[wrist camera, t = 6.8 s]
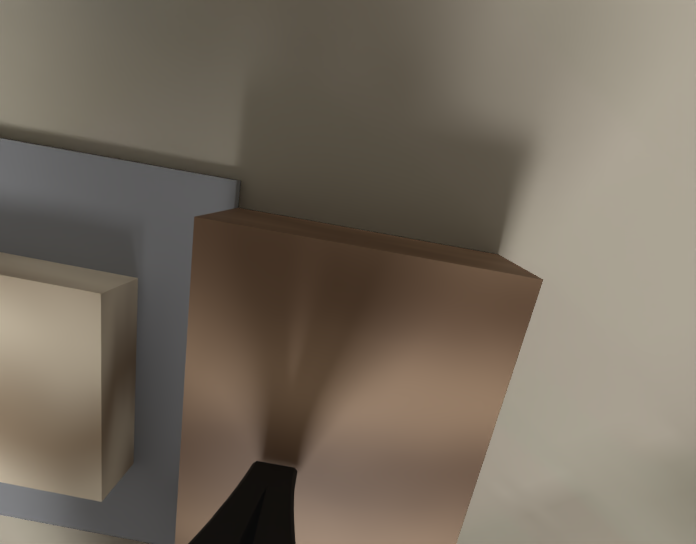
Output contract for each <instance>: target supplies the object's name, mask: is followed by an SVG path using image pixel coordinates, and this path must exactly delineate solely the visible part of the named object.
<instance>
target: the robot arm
mask: <svg viewBox="0 0 696 544" xmlns="http://www.w3.org/2000/svg"><path fill="white" fill-rule="evenodd" d="M296 478H297V470H296V469H295V468H294V467H289V466H283V465H277V464H272V463H266V462H261V461H256V462H254V463H253V464H252V465H251V467H250V468H249V470H248V471H247V473H246V474H245V476H244V477H243V479H242V480H241V481H240V483H239V484H238V485H237V487H236V488H235V489H234V491H233V492H232V493H231V495H230V496H229V497H228V498H227V500H226V501H225V502H224V503H223V505H222V506H221V507H220V508H219V509H218V511H217V512H216V513H215V514H214V515H213V517H212V518H211V519H210V520H209V521H208V522H207V524H206V525H205V526H204V527H203V528H202V529H201V530H200V531H199V532H198V534H197V535H196V536H195V537H194V538H193V539H192V540H191V541H190V542H189V543H188V544H296V542H295V525H294V491H295V484H296Z"/></svg>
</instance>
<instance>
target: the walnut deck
mask: <svg viewBox="0 0 696 544" xmlns="http://www.w3.org/2000/svg"><path fill="white" fill-rule="evenodd" d="M542 282H543V279H541V278H539V277H537V276H536V275H534V274H532V273H530V272H528V271H527V270H525V269H523V268H521V267H520V266H518V265H516V264H514V263H513V262H511V261H509V260H507V259H505V258H504V257H502V256H500V255H498V254H493V253H487V252H481V251H476V250H470V249H465V248H459V247H454V246H448V245H443V244H437V243H431V242H426V241H420V240H415V239H409V238H404V237H398V236H393V235H387V234H382V233H376V232H370V231H365V230H359V229H354V228H348V227H343V226H337V225H332V224H326V223H321V222H315V221H309V220H304V219H298V218H293V217H287V216H282V215H276V214H271V213H265V212H259V211H254V210H248V209H243V208H234V209H229V210H224V211H219V212H215V213H210V214H205V215H200V216H195V217H194V228H193V245H192V262H191V278H190V295H189V312H188V329H187V346H186V363H185V380H184V397H183V414H182V431H181V448H180V464H179V481H178V498H177V515H176V532H175V544H188V543H189V542H190V541H191V540H192V539H193V538H194V537H195V536H196V535H197V534H198V532H199V531H200V530H201V529H202V528H203V527H204V526H205V525H206V524H207V522H208V521H209V520H210V519H211V518H212V517H213V515H214V514H215V513H216V512H217V511H218V509H219V508H220V507H221V506H222V505H223V503H224V502H225V501H226V500H227V498H228V497H229V496H230V495H231V493H232V492H233V491H234V489H235V488H236V487H237V485H238V484H239V483H240V481H241V480H242V479H243V477H244V476H245V474H246V473H247V471H248V470H249V468H250V467H251V465H252V464H253V463H254V462H256V461H261V462H266V463H272V464H277V465H283V466H289V467H294V468H295V469H296V470H297V478H296V484H295V491H294V525H295V542H296V544H456V543H457V540H458V537H459V534H460V531H461V528H462V525H463V522H464V518H465V515H466V512H467V509H468V506H469V503H470V500H471V497H472V494H473V491H474V488H475V485H476V482H477V479H478V476H479V473H480V470H481V467H482V464H483V461H484V458H485V455H486V452H487V449H488V446H489V443H490V440H491V436H492V433H493V430H494V427H495V424H496V421H497V418H498V415H499V412H500V409H501V406H502V403H503V400H504V397H505V394H506V391H507V388H508V385H509V382H510V379H511V376H512V373H513V370H514V367H515V364H516V361H517V358H518V355H519V351H520V348H521V345H522V342H523V339H524V336H525V333H526V330H527V327H528V324H529V321H530V318H531V315H532V312H533V309H534V306H535V303H536V300H537V297H538V294H539V291H540V288H541V285H542Z"/></svg>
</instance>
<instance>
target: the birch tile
mask: <svg viewBox="0 0 696 544" xmlns="http://www.w3.org/2000/svg"><path fill="white" fill-rule="evenodd" d="M137 300H138V278H135V277H130V276H125V275H119V274H114V273H109V272H103V271H98V270H93V269H87V268H82V267H77V266H71V265H66V264H61V263H55V262H50V261H45V260H40V259H34V258H29V257H24V256H18V255H13V254H8V253H2V252H0V482H2V483H7V484H12V485H17V486H22V487H28V488H33V489H38V490H43V491H48V492H53V493H59V494H64V495H69V496H74V497H79V498H84V499H90V500H95V501H100V502H102V501H103V500H104V498H105V497H106V496H107V495H108V494H109V492H110V491H111V490H112V489H113V488H114V486H115V485H116V484H117V483H118V482H119V480H120V479H121V478H122V477H123V476H124V474H125V473H126V472H127V471H128V469H129V468H130V467H131V466H132V465H133V461H134V421H135V381H136V340H137Z"/></svg>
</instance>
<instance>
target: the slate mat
mask: <svg viewBox="0 0 696 544" xmlns="http://www.w3.org/2000/svg"><path fill="white" fill-rule="evenodd" d="M239 192H240V181H239V180H233V179H228V178H222V177H216V176H211V175H205V174H200V173H194V172H189V171H183V170H177V169H172V168H166V167H161V166H155V165H150V164H144V163H138V162H133V161H127V160H122V159H116V158H111V157H105V156H99V155H94V154H88V153H83V152H77V151H72V150H66V149H60V148H55V147H49V146H44V145H38V144H33V143H27V142H21V141H16V140H10V139H5V138H0V252H2V253H8V254H13V255H18V256H24V257H29V258H34V259H40V260H45V261H50V262H55V263H61V264H66V265H71V266H77V267H82V268H87V269H93V270H98V271H103V272H109V273H114V274H119V275H125V276H130V277H135V278H138V300H137V340H136V381H135V421H134V461H133V465H132V466H131V467H130V468H129V469H128V471H127V472H126V473H125V474H124V476H123V477H122V478H121V479H120V480H119V482H118V483H117V484H116V485H115V486H114V488H113V489H112V490H111V491H110V492H109V494H108V495H107V496H106V497H105V498H104V500H103V501H102V502H100V501H95V500H90V499H84V498H79V497H74V496H69V495H64V494H59V493H53V492H48V491H43V490H38V489H33V488H28V487H22V486H17V485H12V484H7V483H2V482H0V515H4V516H10V517H15V518H20V519H25V520H31V521H36V522H41V523H46V524H52V525H57V526H62V527H67V528H73V529H78V530H83V531H88V532H94V533H99V534H104V535H110V536H115V537H120V538H125V539H131V540H136V541H141V542H146V543H152V544H175V532H176V515H177V498H178V481H179V464H180V448H181V431H182V414H183V397H184V380H185V363H186V346H187V329H188V312H189V295H190V278H191V262H192V245H193V228H194V217H195V216H200V215H205V214H210V213H215V212H219V211H224V210H229V209H234V208H238V203H239Z"/></svg>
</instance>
